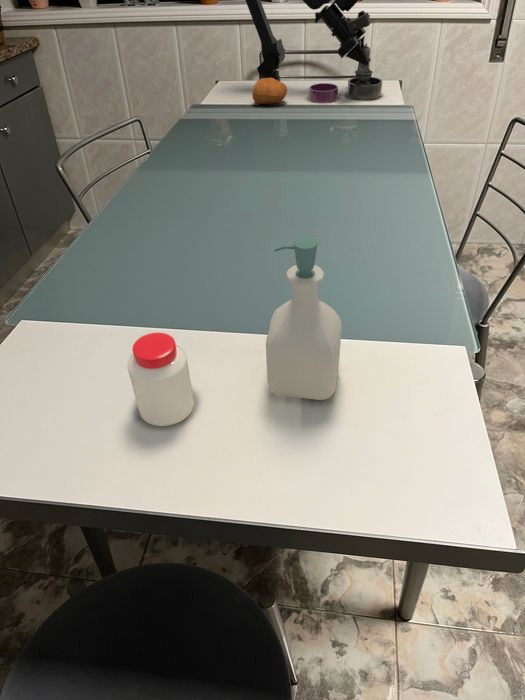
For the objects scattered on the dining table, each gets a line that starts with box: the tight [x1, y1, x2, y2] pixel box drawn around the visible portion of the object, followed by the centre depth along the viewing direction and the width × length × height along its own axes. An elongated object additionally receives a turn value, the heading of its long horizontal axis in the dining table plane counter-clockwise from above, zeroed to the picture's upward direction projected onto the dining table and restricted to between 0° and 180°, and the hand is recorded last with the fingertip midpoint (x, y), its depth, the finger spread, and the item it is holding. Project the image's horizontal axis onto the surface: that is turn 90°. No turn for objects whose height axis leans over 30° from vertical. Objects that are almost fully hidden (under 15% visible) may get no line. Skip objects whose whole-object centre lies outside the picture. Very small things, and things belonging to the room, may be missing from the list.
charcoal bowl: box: [346, 76, 383, 101], centre depth 185 cm, size 11×11×4 cm
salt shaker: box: [354, 42, 374, 85], centre depth 180 cm, size 6×6×12 cm
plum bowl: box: [308, 82, 339, 104], centre depth 184 cm, size 10×10×4 cm
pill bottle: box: [127, 332, 195, 427], centre depth 74 cm, size 8×8×11 cm
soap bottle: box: [265, 236, 343, 401], centre depth 73 cm, size 10×10×23 cm
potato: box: [251, 78, 288, 105], centre depth 181 cm, size 9×11×8 cm
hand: (368, 63), depth 179 cm, fingers closed on salt shaker, 3 cm apart
